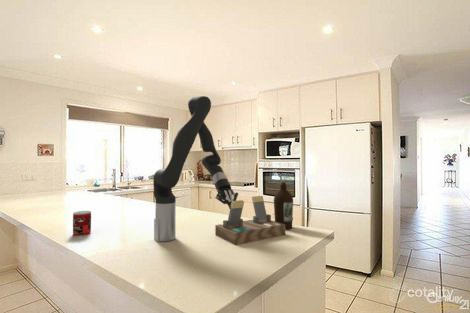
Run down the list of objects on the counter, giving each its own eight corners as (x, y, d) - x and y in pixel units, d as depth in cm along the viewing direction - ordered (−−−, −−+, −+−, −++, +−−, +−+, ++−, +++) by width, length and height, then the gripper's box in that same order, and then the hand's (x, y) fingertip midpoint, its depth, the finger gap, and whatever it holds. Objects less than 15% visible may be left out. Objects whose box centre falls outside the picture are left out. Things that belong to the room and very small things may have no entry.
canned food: (69, 234, 132) (69, 212, 132) (84, 230, 139) (85, 210, 139) (78, 236, 128) (79, 214, 128) (94, 232, 135) (94, 211, 135)
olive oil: (269, 226, 147) (269, 182, 147) (283, 224, 153) (283, 181, 153) (283, 231, 138) (283, 183, 139) (297, 228, 144) (297, 182, 144)
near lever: (228, 227, 126) (233, 202, 122) (226, 225, 127) (231, 201, 123) (238, 225, 129) (244, 201, 125) (237, 224, 130) (242, 200, 127)
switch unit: (234, 244, 115) (234, 226, 115) (215, 235, 130) (215, 218, 131) (285, 234, 131) (285, 218, 131) (262, 227, 146) (262, 212, 147)
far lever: (258, 221, 135) (253, 196, 139) (256, 222, 136) (251, 197, 140) (267, 220, 138) (262, 195, 142) (266, 221, 140) (260, 196, 144)
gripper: (212, 178, 132) (224, 206, 122) (234, 177, 139) (247, 203, 129) (207, 188, 137) (218, 215, 126) (229, 186, 144) (241, 212, 133)
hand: (233, 209), depth 128 cm, fingers closed
